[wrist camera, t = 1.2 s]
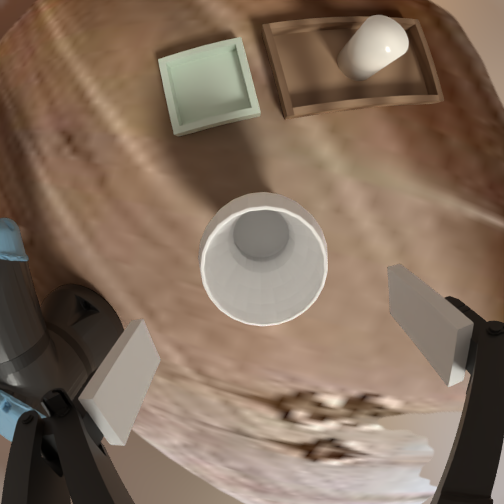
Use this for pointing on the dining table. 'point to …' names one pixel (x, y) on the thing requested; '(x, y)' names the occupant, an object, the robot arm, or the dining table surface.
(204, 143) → the dining table surface
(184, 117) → the dish
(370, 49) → the white rounded cylinder
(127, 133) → the dining table surface
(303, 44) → the tray
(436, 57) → the dining table surface
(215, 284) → the cup
